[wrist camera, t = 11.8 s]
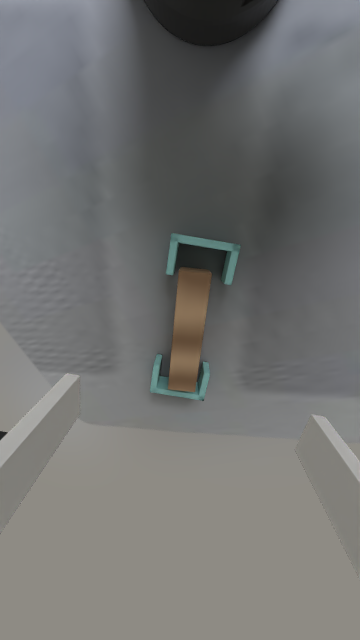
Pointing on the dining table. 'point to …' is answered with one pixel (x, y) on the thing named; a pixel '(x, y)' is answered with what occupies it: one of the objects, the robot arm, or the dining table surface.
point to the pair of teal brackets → (160, 382)
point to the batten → (188, 327)
